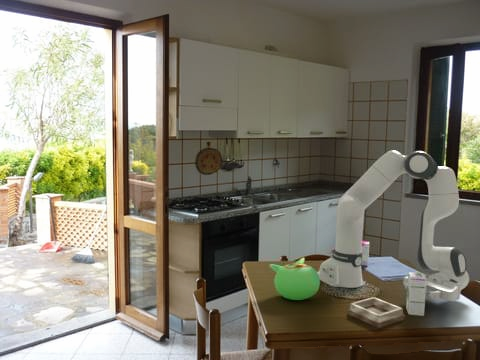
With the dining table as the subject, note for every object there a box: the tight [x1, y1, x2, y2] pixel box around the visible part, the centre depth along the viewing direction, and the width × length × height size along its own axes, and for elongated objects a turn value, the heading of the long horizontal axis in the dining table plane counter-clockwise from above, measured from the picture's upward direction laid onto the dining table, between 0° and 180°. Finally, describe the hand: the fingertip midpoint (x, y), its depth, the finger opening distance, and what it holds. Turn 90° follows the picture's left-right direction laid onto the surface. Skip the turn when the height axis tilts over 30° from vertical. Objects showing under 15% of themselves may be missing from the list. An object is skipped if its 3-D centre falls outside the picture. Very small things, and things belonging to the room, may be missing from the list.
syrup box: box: [405, 271, 427, 317], centre depth 170 cm, size 6×6×14 cm
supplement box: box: [361, 240, 370, 268], centre depth 230 cm, size 6×6×12 cm
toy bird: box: [268, 257, 321, 301], centre depth 181 cm, size 18×17×15 cm
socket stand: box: [347, 296, 406, 329], centre depth 166 cm, size 14×14×4 cm
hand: (417, 291), depth 171 cm, fingers open, 8 cm apart
